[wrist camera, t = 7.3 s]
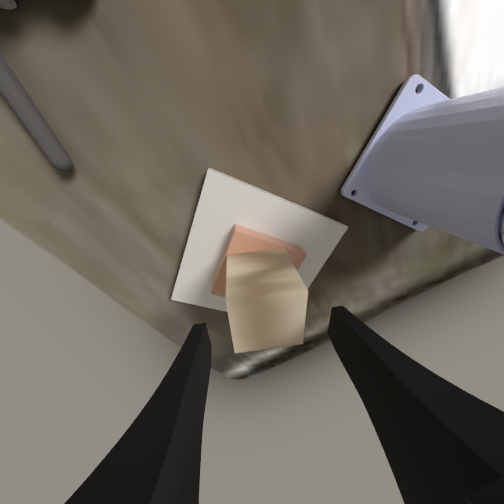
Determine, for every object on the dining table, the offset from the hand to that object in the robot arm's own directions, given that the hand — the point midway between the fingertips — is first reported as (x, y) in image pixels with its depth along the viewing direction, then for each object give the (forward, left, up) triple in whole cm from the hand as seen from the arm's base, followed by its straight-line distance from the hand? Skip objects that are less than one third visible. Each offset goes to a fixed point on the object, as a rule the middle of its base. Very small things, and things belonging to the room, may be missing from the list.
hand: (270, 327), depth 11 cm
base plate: (0, 0, -8) cm, 8 cm away
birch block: (0, 0, -5) cm, 5 cm away
